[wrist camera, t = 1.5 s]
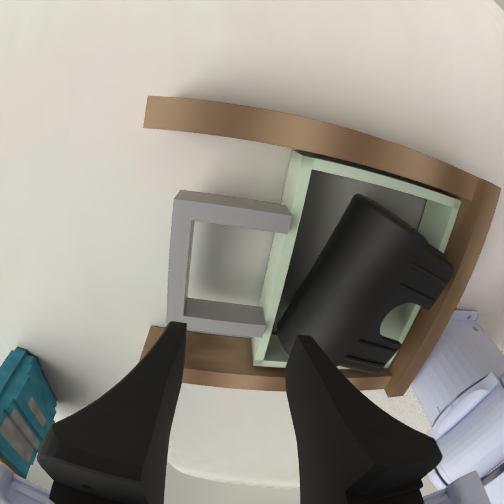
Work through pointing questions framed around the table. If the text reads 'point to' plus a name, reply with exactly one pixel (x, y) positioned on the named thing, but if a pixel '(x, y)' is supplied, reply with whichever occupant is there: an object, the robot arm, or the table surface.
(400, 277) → the end cap
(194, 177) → the table surface
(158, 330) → the brown wooden frame
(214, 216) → the pull tray
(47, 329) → the table surface
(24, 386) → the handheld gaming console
